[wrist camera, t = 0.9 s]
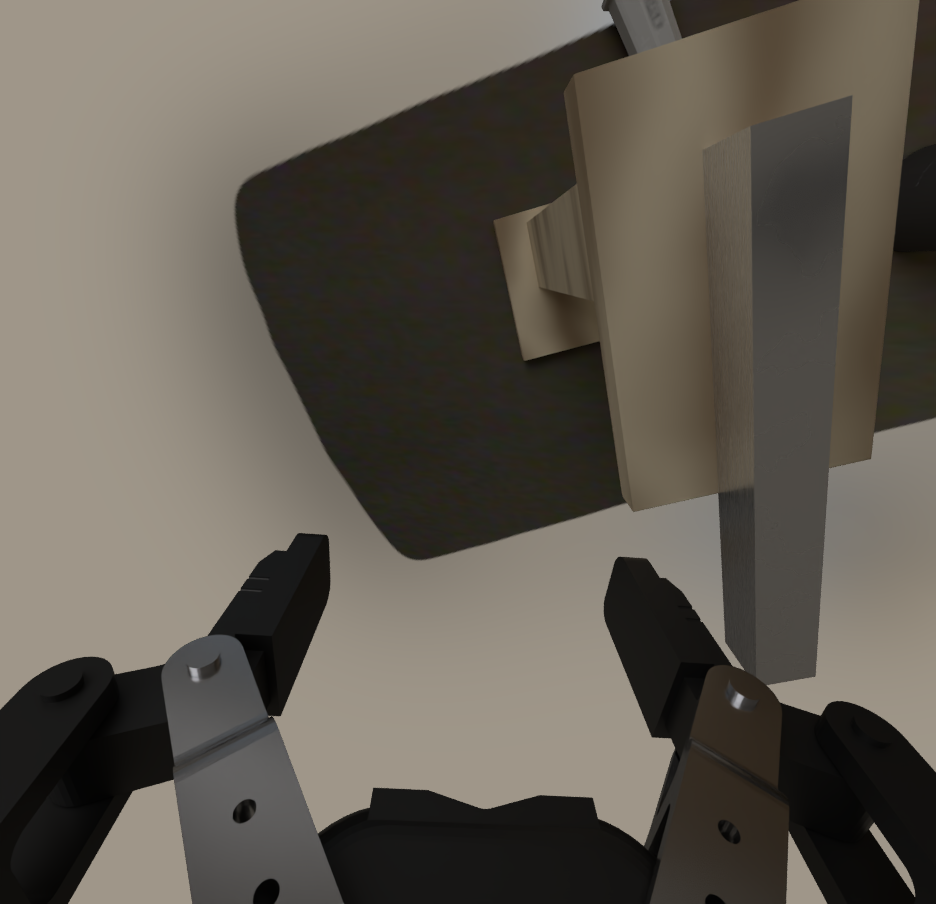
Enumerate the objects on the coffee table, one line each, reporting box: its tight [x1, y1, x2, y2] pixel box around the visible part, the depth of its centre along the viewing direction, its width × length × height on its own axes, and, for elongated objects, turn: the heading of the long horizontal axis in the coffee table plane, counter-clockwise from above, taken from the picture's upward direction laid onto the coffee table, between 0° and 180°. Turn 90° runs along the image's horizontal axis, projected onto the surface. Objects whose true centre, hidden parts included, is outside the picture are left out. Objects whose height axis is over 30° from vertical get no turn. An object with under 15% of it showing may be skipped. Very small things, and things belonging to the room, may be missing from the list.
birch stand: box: [493, 0, 919, 512], centre depth 31 cm, size 12×16×32 cm
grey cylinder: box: [602, 0, 682, 56], centre depth 38 cm, size 5×7×25 cm
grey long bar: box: [702, 95, 853, 685], centre depth 17 cm, size 3×22×3 cm, turn 15°
